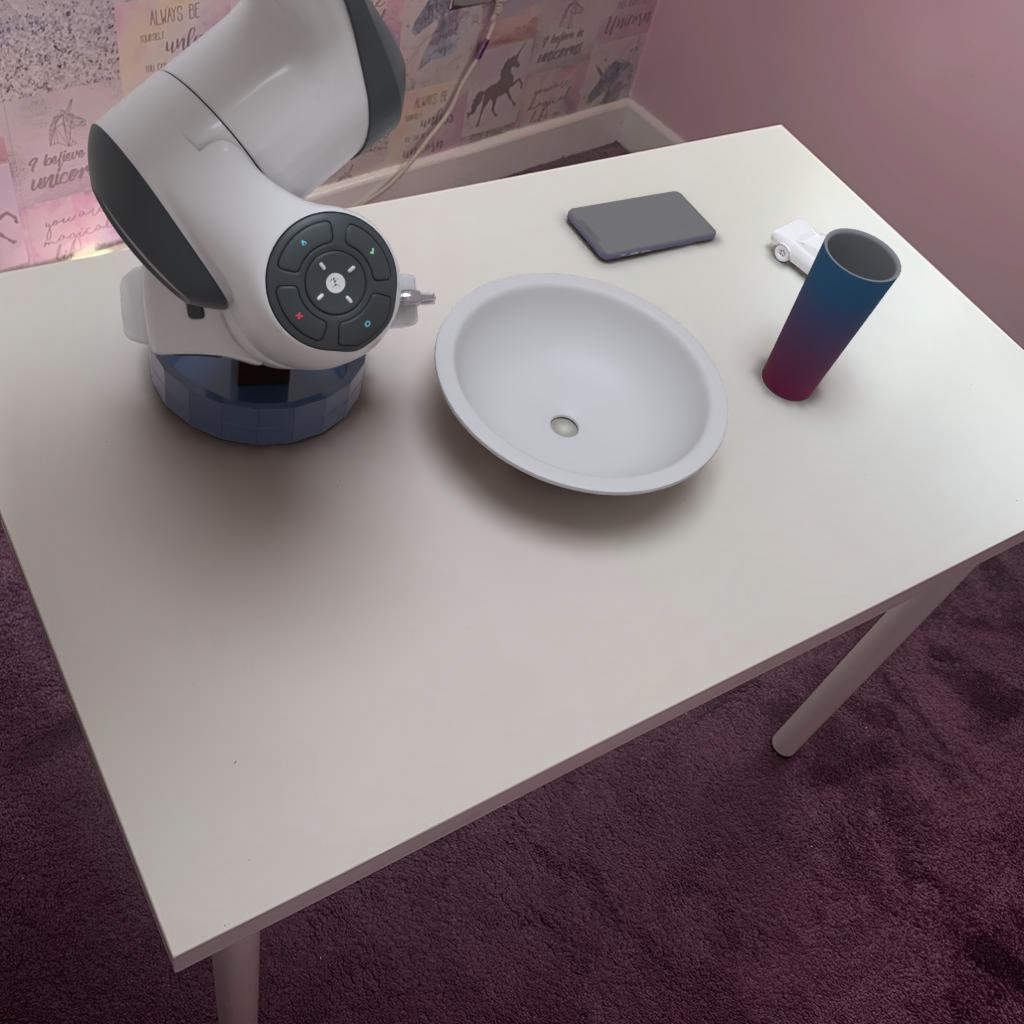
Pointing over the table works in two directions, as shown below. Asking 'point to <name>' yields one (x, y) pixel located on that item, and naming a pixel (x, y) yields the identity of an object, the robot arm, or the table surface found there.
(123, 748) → the table surface
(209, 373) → the bowl
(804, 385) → the cup
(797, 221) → the toy car
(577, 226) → the smartphone
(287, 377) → the block
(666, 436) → the white sink basin
